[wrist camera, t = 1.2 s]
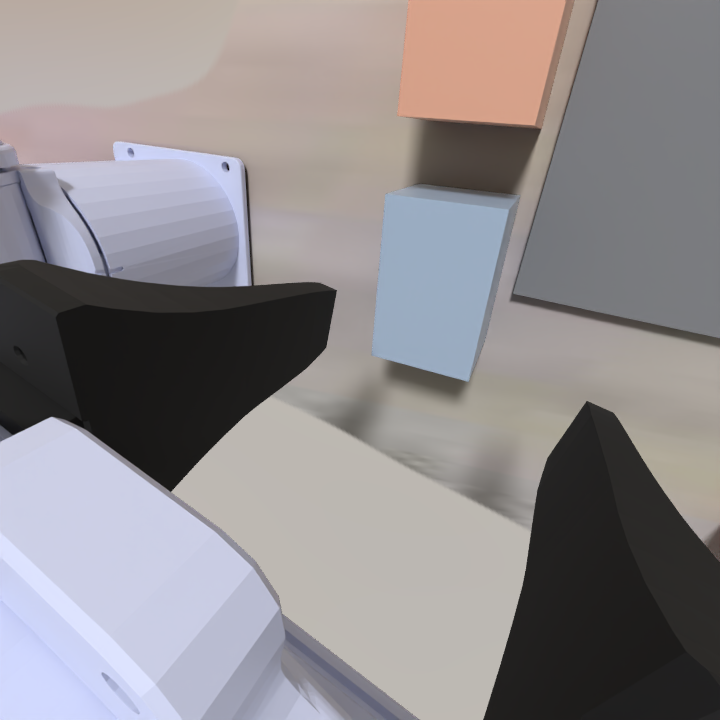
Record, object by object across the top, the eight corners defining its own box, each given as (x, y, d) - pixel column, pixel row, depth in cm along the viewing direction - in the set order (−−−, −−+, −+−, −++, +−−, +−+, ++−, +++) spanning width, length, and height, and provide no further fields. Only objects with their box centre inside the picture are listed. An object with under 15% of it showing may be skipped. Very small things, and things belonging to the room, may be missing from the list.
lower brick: (403, 320, 22) (371, 355, 19) (420, 183, 19) (385, 193, 15) (485, 339, 21) (468, 381, 17) (520, 195, 17) (508, 209, 14)
